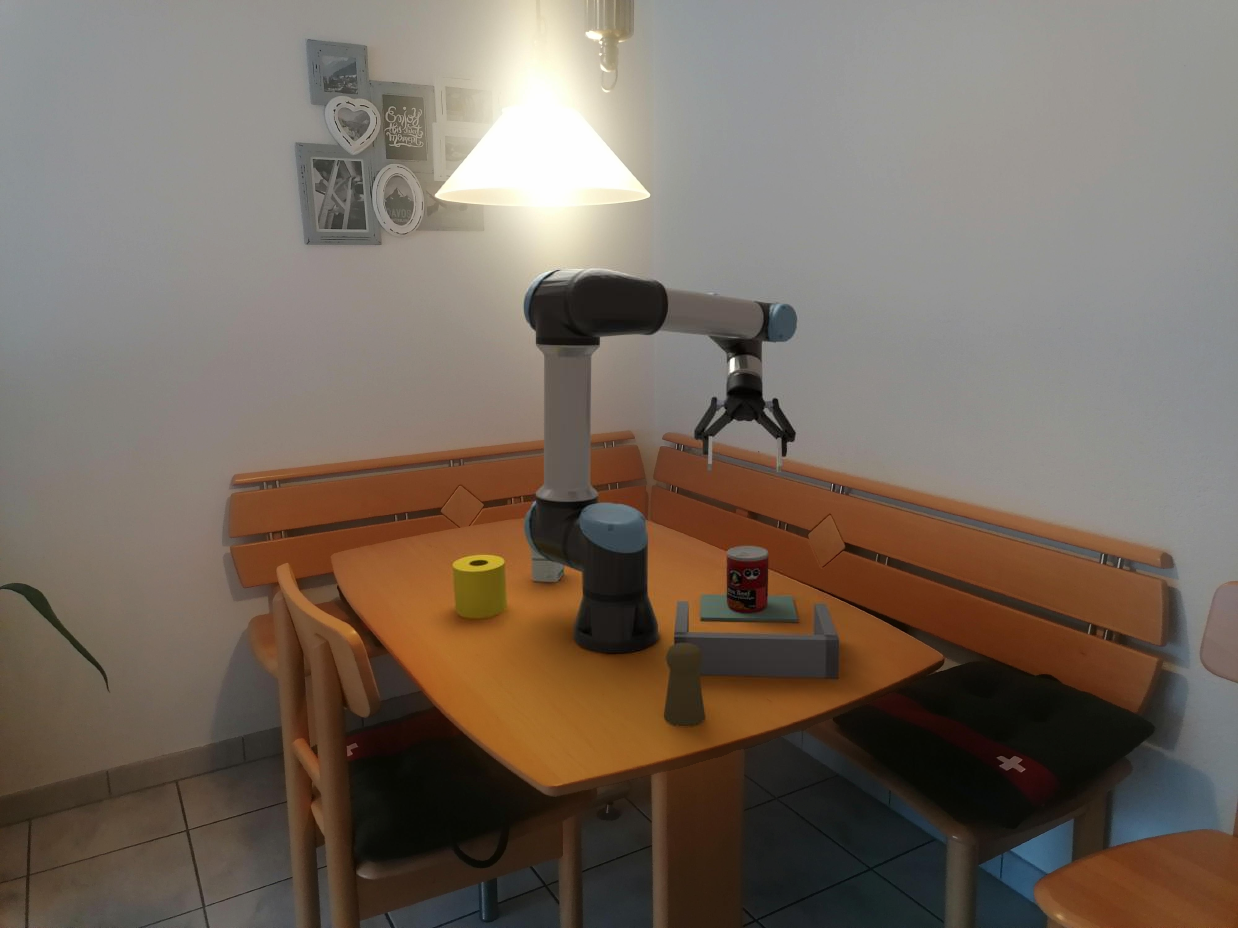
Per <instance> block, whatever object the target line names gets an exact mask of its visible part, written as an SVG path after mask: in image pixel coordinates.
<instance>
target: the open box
mask: <svg viewBox="0 0 1238 928" xmlns="http://www.w3.org/2000/svg"><path fill="white" fill-rule="evenodd" d="M813 607H814V608H813V612H814V614H813V634H807V633H805V634H798V633H797V634H796V633H795V634H794V633H758V632H757V633H754V632H753V633H750V632H749V633H748V632H710V631H708V632H705V631H704V632H703V631H701V632H700V631H699V632H697V631H690V629H689V628H690V626H689V625H690V624H689V623H690V622H689V621H690V620H689V619H690V617H689V613H690V612H689V611H690V610H689V609H690V608H689V600H688V601H687V600H682V601H681V600H677V603H676V609H675V610H676V612H675V620H674V621H675V624H674V632H673V633H674V634H673V645H675V644H678V643H690V644H693V645H695V646H697V647H698V648H699V649H700V651H701V653H702V663H701V666H700V667H699V669H698V670H699V676H727V677H729V676H730V677H766V678H767V677H769V678H807V679H809V678H810V679H839V666H840V663H839V661H840V638H839V635H838V632H837V630H836V628H835V625H834V622H833V619H832V615H831V613H830V610H829V608H828V606H827V603H814V606H813Z"/></svg>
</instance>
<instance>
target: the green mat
mask: <svg viewBox="0 0 1238 928" xmlns="http://www.w3.org/2000/svg"><path fill="white" fill-rule="evenodd" d="M699 612H700V613H699V614H700V615H699V619H700V621H712V622H713V621H714V622H715V621H716V622H717V621H718V622H719V621H721V622H757V623H759V622H760V623H761V622H763V623H764V622H765V623H766V622H771V623H772V622H773V623H799V617H798V614H797V610H796V606H795V603H794V599H793V596H792V595H778V594H777V595H773V594H771V595H770V594H768V603H767V606H766V608H765V609H764V610H762V611H759V612H755V613H741V612H736V611H733V610H731V609H730V608H729V607H728V604H727V594H714V593H713V594H710V593H707V594H706V593H705V594H704V593H703V594H702V593H701V594H700V611H699Z"/></svg>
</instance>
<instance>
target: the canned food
mask: <svg viewBox="0 0 1238 928" xmlns="http://www.w3.org/2000/svg"><path fill="white" fill-rule="evenodd" d="M726 595H727V604H728V607H729V608H730V609H731V610H733V611H736V612H741V613H755V612H759V611H762V610H764V609H765V608H766V606H767V603H768V595H769V551H768V549H765V548H763V547H761V546H754V545H739V546H734V547H731V548H729V549H728V550H727V552H726Z"/></svg>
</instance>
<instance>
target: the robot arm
mask: <svg viewBox="0 0 1238 928" xmlns="http://www.w3.org/2000/svg"><path fill="white" fill-rule="evenodd" d="M523 314H524V318H525V320H526V323H528V324H529V327H530V328H531V329H532V330H534V332H535V347H536V348H538V349H539V350H540V352H541V353H542V354H543V365H544V366H543V383H544V384H543V412H544V413H543V421H544V422H543V484H542V486H540V488H538V489H537V490H536V492H535V500H534V502H533V503H531V505H530V509H529V510H527V512H526V513H525V514H526V515H525V518H524V522H523V524H524V526H523V531H524V537H525V539H526V541H527V543H528V545H529V546H530V547H531V548H532V549H533V550H534V551H535V552H536V553H538V554H539V555H541V556H543V557H544V558H545V559H547V560H549V561H552V562H556V563H559V564H562V565H564V567H565V566H566V567H567V568H570V569H573V570H575V571H579V572H581V579H582V581H581V584H582V585H581V587H582V589H581V590H582V597H581V600H580V603H579V604H580V605H579V607H578V611H577V614H576V617H575V621H574V624H573V638H574V641H575V643H577V644H578V645H579V646H580V647H582V648H583V649H586V650H589V651H592V652H597V653H604V654H621V653H622V654H625V653H631V652H636V651H640V650H643V649H645V648H648V647H650V646H652V645H653V644H655V642H656V641H657V640H658V638H659V623H658V620H657V617H656V614H655V611H654V608H653V606H652V603H651V600H650V597H649V593H648V592H649V589H648V588H649V587H648V581H649V579H648V578H649V577H648V576H649V575H648V574H649V573H648V571H649V569H648V566H649V564H648V563H649V562H648V561H649V560H648V557H649V555H648V554H649V553H648V552H649V551H648V550H649V547H648V544H649V540H648V539H649V534H648V532H647V531H648V530H647V521H646V518H645V516H644V514H642V513H641V512H640V510H638V509H636V508H634V507H633V506H632V507H631V506H629V505H626V504H622V503H613V502H599V492H598V491H597V490H596V489H595V488H594V487H593V486H592V485H591V433H592V432H591V431H592V430H591V428H592V427H591V425H592V424H591V423H592V422H591V419H592V417H591V416H592V415H591V414H592V411H591V410H592V357H593V354H594V353H595V352H596V351H597V350H598V349H599V348H600V347H601V338H604V337H615V336H628V335H631V336H633V335H640V336H641V335H643V336H653V335H656V334H657V333H659V331H660V332H670V333H679V334H680V333H681V334H689V335H690V334H691V335H701V336H707V337H709V338H710V339H711V340H712V341H713V342H714V343H716V345H717V346H718V347H719V348H721V350H722V351H723V352H724V353H725V354H726V385H725V386H726V390H725V393H726V394H725V395H726V396H725V397H726V398H725V399H724V400H722V399H718V397H716V396H713V397H711V399H710V405H709V407H708V409H707V410H706V411H705V413H704V414H703V416H702V418H701V419H700V421H699V422H698V423H697V425H696V427H695V428H694V433H693V438H694V440H696V441H699V440H700V441H702V455H704V456H705V455H706V456H707V459H708V460H707V472H712V470H713V439H714V437H715V436H716V435H717V434H718V433H720V431H722V430H723V428H725V427H726V426H727V425H728V424H731V422H732V421H734V420H735V421H736V422H743V421H745V422H753V421H755V422H756V424H759V425H761V426H762V428H763V429H765V430H766V431H767V432H768V433H769V434H770V435H771V436H772V437H773V438H774V439H775V440H776V473H777V474H781V473H782V468H783V459H782V458H786V457H787V453H788V443H789V442H790V443H794V442H795V441H796V434H797V432H796V430H795V429H794V427H793V426H792V424H791V423H790V421H789V419H788V418H787V416H786V415H785V413H784V411H783V410H782V408H781V407H780V403H779V399H778V398H777V397H773V398H772V400H766V401H765V400H764V397H763V396H764V395H763V394H764V393H763V392H764V391H763V388H764V387H763V386H764V385H763V342H767V343H769V342H770V343H784V342H785V343H786V342H787V341H790V340H791V339H792V338H793V336H794V335H795V333H796V330H797V329H798V328H797V327H798V326H797V325H798V315H797V313H796V310H795V308H794V307H793V306H792V305H790V304H788V303H781V302H765V301H757V300H751V299H744V298H738V297H731V296H730V297H729V296H726V295H725V296H723V295H720V294H718V293H716V292H709V293H704V292H698V291H693V290H692V291H691V290H686V289H679V288H671V287H666V286H665V285H664V284H663V283H662V281H660V280H657V279H654V278H653V279H652V278H649V277H648V278H647V277H642V276H638V275H634V274H629V273H625V272H622V271H618V270H617V271H616V270H613V269H609V268H599V267H598V268H597V267H596V268H595V267H593V268H573V269H572V268H560V269H559V268H558V269H555V270H550V271H546V272H543V273H541V274H540V275H538V276H536V277H535V278H534V280H533V281H532V282H531V283H530V285H529V286H528V288H527V289H526V292H525V294H524V299H523ZM722 408H724V410H725V411H724V412H723V414H722V415H721V416H720V417H718V419H716V420H715V421H714V422H713V423H712V424H711V425H710V423H711V422H712V420H714V417H715V415H716V413H717V412H719V411H720V410H721V409H722ZM765 409H767V410H768V411H769V413H772V415H773V417H774V419H775V421H776V422H774V420H772V419H771V418H770V416H768V414H766V412H765ZM777 424H778V425H777ZM709 425H710V426H709ZM530 547H529V548H530Z"/></svg>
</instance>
